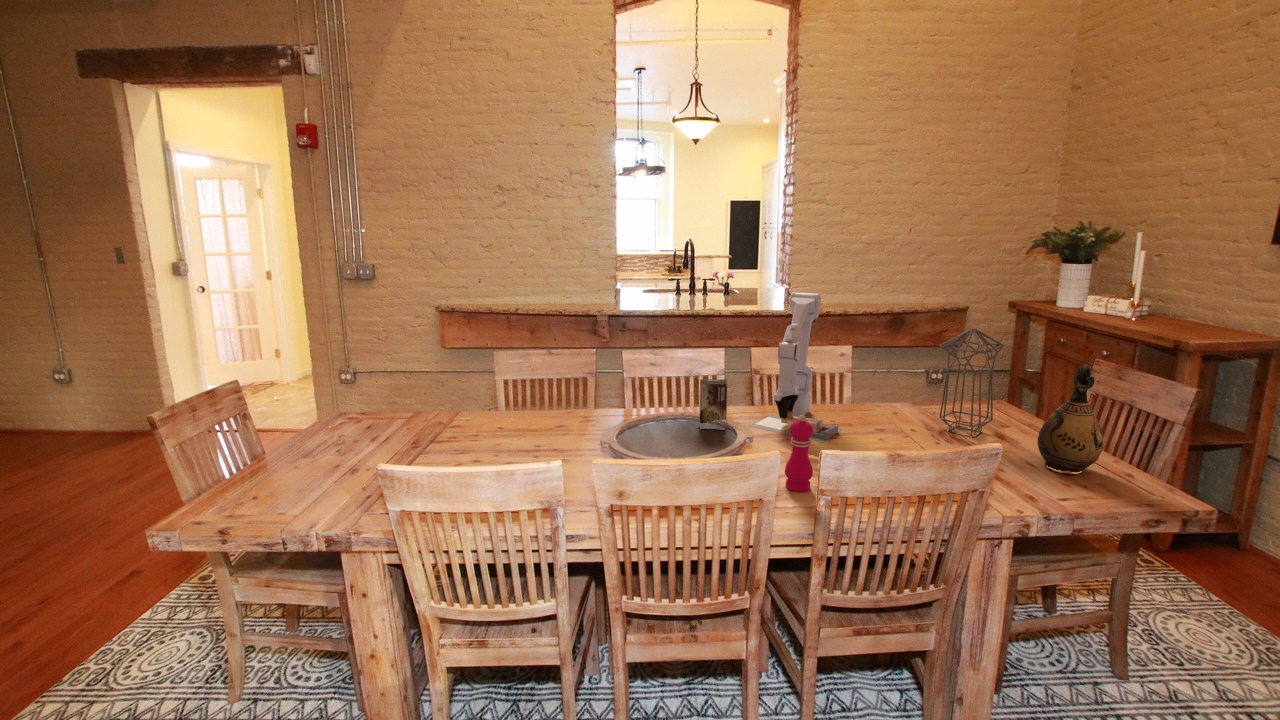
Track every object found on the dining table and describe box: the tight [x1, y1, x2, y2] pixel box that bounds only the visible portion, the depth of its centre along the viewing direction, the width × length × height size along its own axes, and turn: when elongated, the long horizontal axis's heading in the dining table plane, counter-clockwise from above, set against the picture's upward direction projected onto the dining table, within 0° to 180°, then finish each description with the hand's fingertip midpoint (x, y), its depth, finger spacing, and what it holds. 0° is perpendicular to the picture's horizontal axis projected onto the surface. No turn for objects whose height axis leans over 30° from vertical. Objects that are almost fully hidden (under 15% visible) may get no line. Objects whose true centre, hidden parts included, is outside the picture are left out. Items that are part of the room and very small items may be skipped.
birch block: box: [781, 411, 823, 432], centre depth 216 cm, size 5×13×5 cm, turn 52°
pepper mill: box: [784, 415, 814, 493], centre depth 171 cm, size 7×7×20 cm
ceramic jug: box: [1037, 364, 1104, 472], centre depth 184 cm, size 17×15×30 cm
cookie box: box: [699, 378, 728, 423], centre depth 219 cm, size 9×6×16 cm
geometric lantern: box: [939, 328, 1005, 436], centre depth 214 cm, size 16×16×35 cm
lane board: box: [749, 414, 842, 443], centre depth 218 cm, size 16×26×3 cm, turn 52°
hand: (785, 416), depth 220 cm, fingers closed on birch block, 3 cm apart
